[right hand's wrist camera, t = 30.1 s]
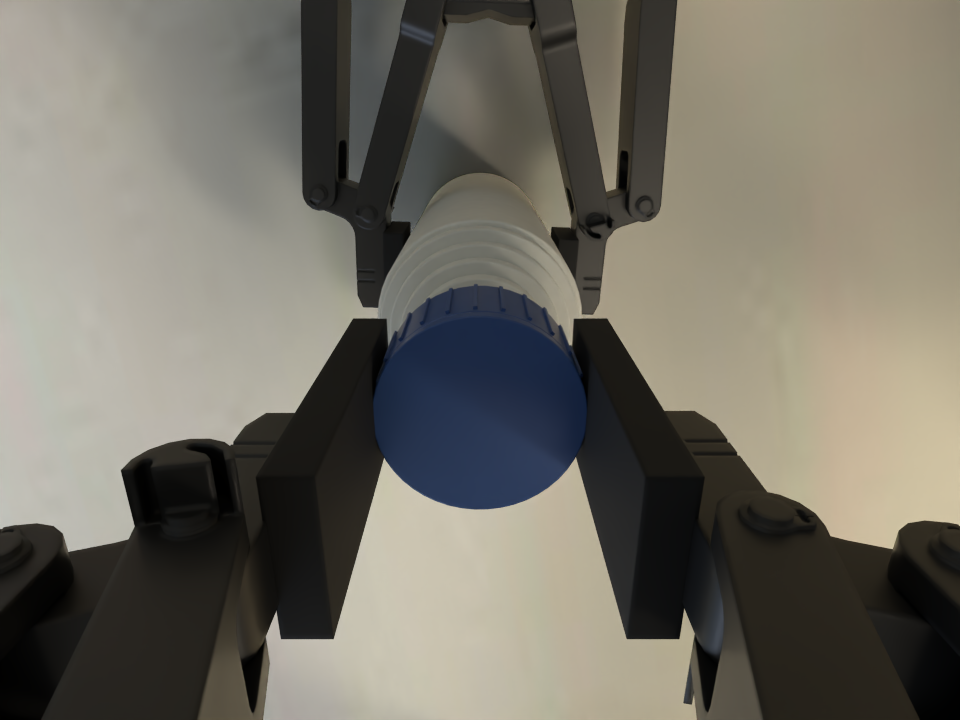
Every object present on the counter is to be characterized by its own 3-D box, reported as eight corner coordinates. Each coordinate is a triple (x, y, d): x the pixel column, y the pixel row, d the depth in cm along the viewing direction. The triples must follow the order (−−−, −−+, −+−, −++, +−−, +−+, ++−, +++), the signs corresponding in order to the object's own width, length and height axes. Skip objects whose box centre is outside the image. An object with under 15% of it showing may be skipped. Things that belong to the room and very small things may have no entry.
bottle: (402, 257, 32) (296, 453, 13) (454, 150, 30) (412, 207, 11) (503, 309, 33) (532, 554, 14) (560, 208, 31) (676, 344, 13)
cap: (473, 489, 15) (471, 547, 13) (345, 368, 14) (321, 411, 12) (613, 381, 14) (635, 427, 12) (487, 241, 13) (488, 265, 11)
